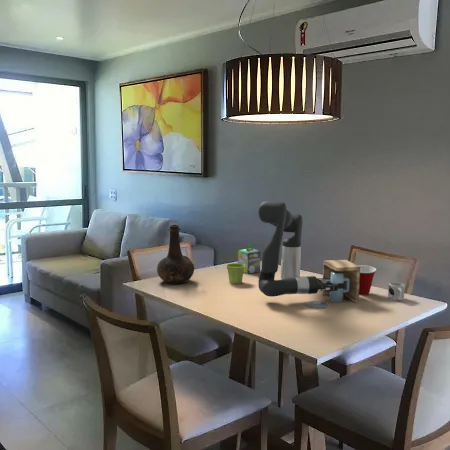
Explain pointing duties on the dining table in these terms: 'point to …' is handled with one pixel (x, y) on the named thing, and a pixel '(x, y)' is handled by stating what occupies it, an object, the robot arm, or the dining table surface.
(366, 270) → the plastic cup
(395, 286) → the mug
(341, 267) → the shelf
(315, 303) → the coaster
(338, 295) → the light blue piece
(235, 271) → the plant pot
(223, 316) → the dining table surface
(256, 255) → the chalk box
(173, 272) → the glass bottle
